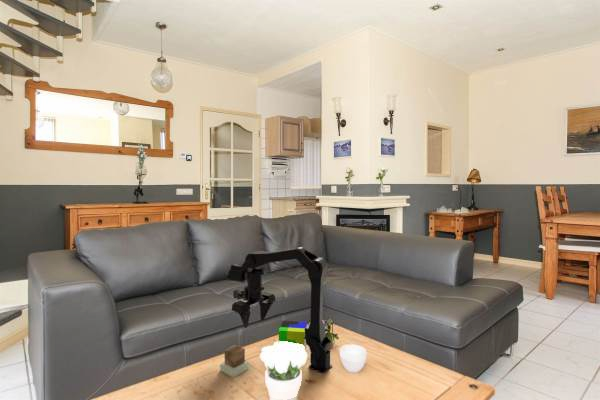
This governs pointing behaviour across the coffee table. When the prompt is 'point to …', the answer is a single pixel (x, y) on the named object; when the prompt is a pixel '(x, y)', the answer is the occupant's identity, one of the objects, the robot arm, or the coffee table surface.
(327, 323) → the passion flower
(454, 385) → the coffee table surface
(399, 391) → the coffee table surface
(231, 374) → the pale green block
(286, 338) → the puzzle toy
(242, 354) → the walnut cube
